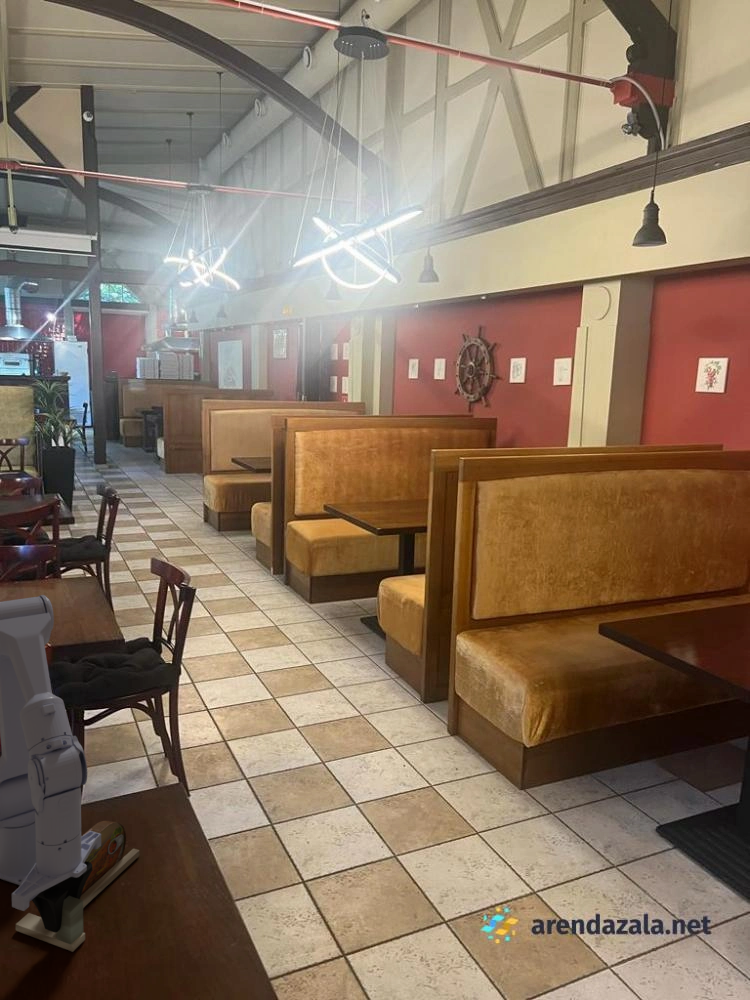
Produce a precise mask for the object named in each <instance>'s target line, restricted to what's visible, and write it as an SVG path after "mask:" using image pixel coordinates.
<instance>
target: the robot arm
mask: <svg viewBox="0 0 750 1000" xmlns="http://www.w3.org/2000/svg"><path fill="white" fill-rule="evenodd" d="M54 623H55V615H54V609H53V604H52V602H51V600H50V599H49V598H48V597H47V596H46V595H45V594H41V595H38V596H33V597H25V598H20V599H19V598H18V599H12V600H4V601H3V600H2V601H0V745H1V755H0V879H1V880H3V881H6V882H9V883H12V884H15V885H18V888H16V889H15V890H14V891H13V892H11V907H12V908H15V910H16V909H17V910H19V911H22V912H25V911H26V910H27V909H28V908H29V907H30V902H32V903H34V906H35V907H36V909H37V911H38V913H39V915H40V917H41V918H42V921H43V924H44V927H45V929H47V930H49V931H52V932H55V933H57V932H58V931H59V930H60V927H61V922H62V908H63V903H64V900H65V899H66V898H67V897H68V896H71V897H74V898H77V899H80V897H81V893H82V890H83V888H84V885H85V883H86V881H87V879H88V877H89V875H90V874H91V872H92V863H90V862H87V861H86V859H87V857H88V856H89V854H90V852H91V851H92V849H98V848H99V847H100V846H101V834H100V833H96V832H93V831H89V832H88V833H87V834H85V835H83V834H82V796H81V795H82V791H81V790H82V787H81V785H82V786H84V785H86V783H87V781H88V764H87V759H86V754H85V751H84V749H83V746H82V745H81V743H80V742H79V740H78V737H77V736H76V735H73V733H72V728H71V726H70V722H69V718H68V713H67V711H66V707H65V703H64V700H63V699H62V698H61V697H59V696H56V695H55V694H54V693H53V691H52V685H51V679H50V671H49V665H48V660H47V652H46V645H47V644H48V643H49V642H50V639H51V634H52V631H53V629H54ZM82 835H83V836H82Z"/></svg>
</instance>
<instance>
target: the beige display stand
mask: <svg viewBox="0 0 750 1000" xmlns="http://www.w3.org/2000/svg"><path fill="white" fill-rule="evenodd" d="M139 856H140V849H137V848H132V849H131V850H130V851H128V853H127V854H124V855H123V857H122V859H121V860H120V861H119V862H118V863H117V864H116V865H114V866H113V867H112V868H111V869H110V870H109V871H108V872H107V873H106V874H104V875H103V876H102V877H101V878H100V879H99V880H98V881H97V882H96V883H95V884H93V885H92V886H91V887H90V888H89V889H88V890H87V891H86V892H85V893H83V894H82V895H81V897H80V899H77V898H74V897H71V896H68V897H67V898H66V899H65V900H64V903H63V908H62V922H61V927H60V930H59V931H58V932H57V933H55V932H52V931H49V930H47V929H45V927H44V924H43V921H42V918H41V916H38V915H36V914H33V913H31V912H28V913H27V914H26V915H25V916H23V917H22V918H21V919H20V920H19V921H18V922H16V923H15V931H17V932H19V933H21V934H24V935H27V936H30V937H32V938H35V939H37V940H40V941H43V942H46V943H48V944H51V945H53V946H56V947H59V948H61V949H63V950H68V951H69V952H72V953H73V952H74V951H75V950H76V949H77V948H78V947H80V945H81V944H82V943H83V942H84V941H85V940H86V932H84V908H85V907H86V906H87V905H88V904H89V903H90V902H91V901H92V900H94V899H95V898H96V897H97V896H98V895H99V894H100V893H101V892H102V891H103V890H104V889H105V888H106V887H107V886H108V885H110V884H111V883H112V882H113V881H115V879H116V878H117V877H118V876H119V875H120V874H122V872H124V871H125V870H126V869H127V868H128V867H129V866H130V865H131V864H132V863H133V862H135V860H137V859H138V858H139Z"/></svg>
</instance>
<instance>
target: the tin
mask: <svg viewBox="0 0 750 1000" xmlns="http://www.w3.org/2000/svg"><path fill="white" fill-rule="evenodd" d="M89 831H93V832H96V833H100V834H101V846H100V847H99V848H98V849H92V851H91V852H90V854H89V856H88V857H87V859H86V861H87V862H90V863H92V872H91V874H90V875H89V877H88V879H87V881H86V883H85V885H84V888H83V890H82V893H81V895H82V894H83V893H85V892H86V891H87V890H88V889H89V888H90V887H91V886H92V885H93V884H95V883H96V882H97V881H98V880H99V879H100V878H101V877H102V876H103V875H104V874H106V873H107V872H108V871H109V870H110V869H111V868H112V867H113V866H114V865H116V864H117V863H118V862H119V861H120V860H121V859H122V858H123V857H124V855H125V854H124V853H125V850H126V845H127V832H126V828H125V826H124V825H123V824H122V823H121V822H119V821H118V822H117V821H111V820H101V821H99V822H97V823H95V824H94V825H93V826H91V828H89V829H88V830H86V831H85V832H84V833H83V834H81V836H83V835H85V834H87V833H88V832H89Z"/></svg>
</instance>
